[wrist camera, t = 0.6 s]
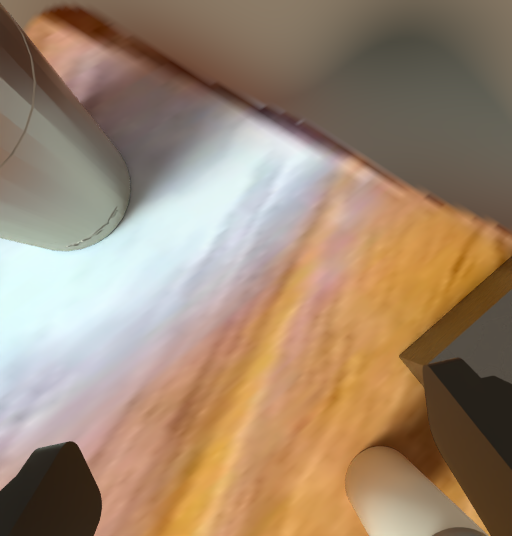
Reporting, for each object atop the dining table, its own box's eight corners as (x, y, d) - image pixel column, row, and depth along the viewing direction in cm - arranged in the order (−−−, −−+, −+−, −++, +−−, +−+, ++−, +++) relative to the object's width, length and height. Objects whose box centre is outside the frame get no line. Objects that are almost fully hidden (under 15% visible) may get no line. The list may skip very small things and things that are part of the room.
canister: (330, 479, 29) (392, 596, 18) (383, 431, 29) (477, 515, 18) (376, 535, 28) (467, 686, 18) (429, 485, 29) (549, 604, 18)
